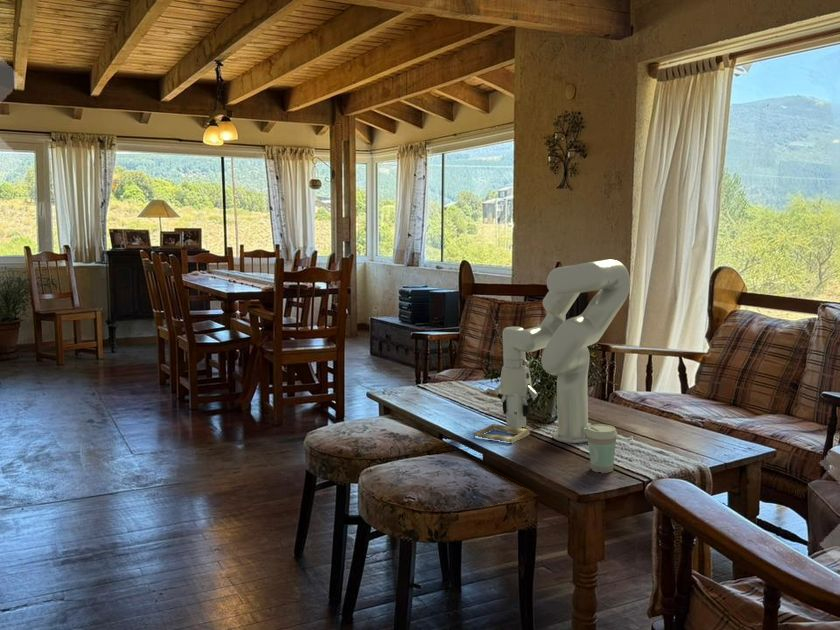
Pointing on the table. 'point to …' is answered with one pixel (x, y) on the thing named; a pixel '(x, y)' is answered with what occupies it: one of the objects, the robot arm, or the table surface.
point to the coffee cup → (601, 447)
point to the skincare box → (515, 411)
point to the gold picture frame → (513, 430)
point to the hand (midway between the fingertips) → (516, 413)
